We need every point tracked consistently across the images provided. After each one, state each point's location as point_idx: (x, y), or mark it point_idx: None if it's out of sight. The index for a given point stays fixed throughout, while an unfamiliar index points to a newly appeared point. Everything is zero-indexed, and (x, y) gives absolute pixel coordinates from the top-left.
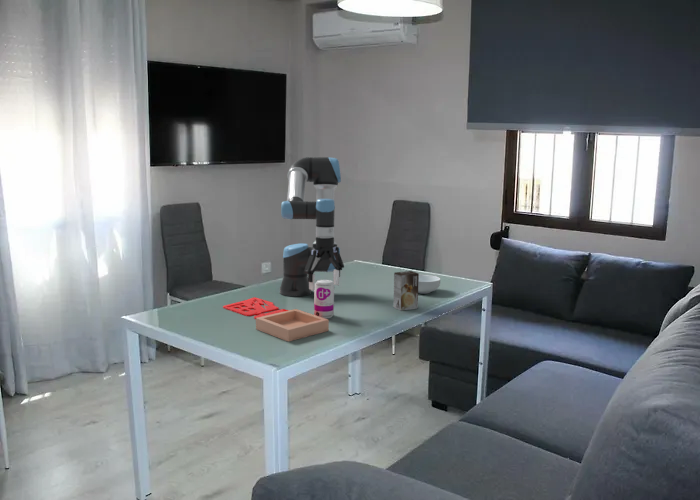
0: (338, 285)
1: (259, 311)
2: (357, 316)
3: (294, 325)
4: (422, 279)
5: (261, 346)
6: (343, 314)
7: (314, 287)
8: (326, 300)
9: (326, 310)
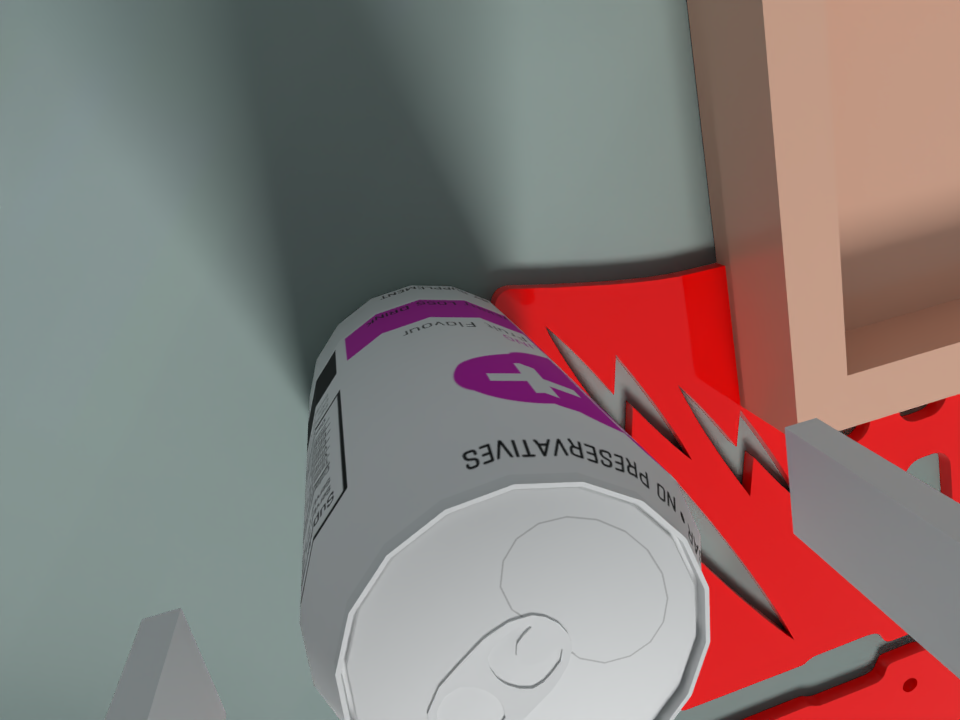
0: (159, 614)
1: (880, 697)
2: (24, 208)
3: (912, 143)
4: None
5: None
6: (170, 364)
7: (826, 445)
8: (503, 342)
9: (470, 306)
